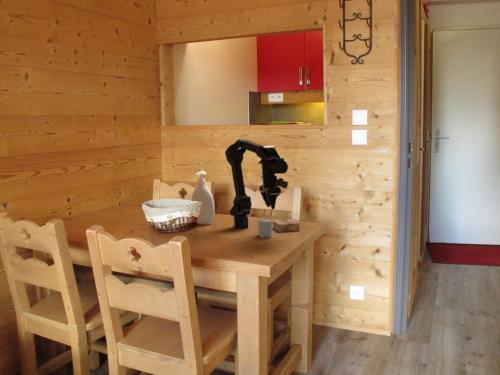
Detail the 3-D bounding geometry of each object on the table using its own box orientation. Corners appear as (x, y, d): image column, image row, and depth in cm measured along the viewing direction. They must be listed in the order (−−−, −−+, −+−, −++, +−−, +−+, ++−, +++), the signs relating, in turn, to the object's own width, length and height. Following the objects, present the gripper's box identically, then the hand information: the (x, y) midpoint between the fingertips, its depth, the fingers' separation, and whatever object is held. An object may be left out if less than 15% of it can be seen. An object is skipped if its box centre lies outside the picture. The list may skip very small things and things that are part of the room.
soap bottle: (186, 223, 255) (184, 171, 251) (196, 220, 261) (194, 169, 258) (208, 226, 247) (206, 172, 243) (218, 223, 253) (217, 170, 250)
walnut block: (279, 233, 232) (278, 224, 231) (273, 228, 241) (272, 220, 241) (299, 231, 234) (299, 223, 234) (292, 227, 244) (292, 219, 243)
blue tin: (260, 237, 222) (260, 222, 221) (258, 235, 227) (257, 220, 226) (271, 236, 223) (271, 221, 222) (268, 234, 228) (268, 219, 227)
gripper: (291, 173, 215) (293, 208, 216) (281, 171, 233) (283, 204, 235) (266, 175, 213) (268, 211, 214) (257, 173, 231) (260, 206, 233)
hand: (270, 208), depth 224 cm, fingers open, 9 cm apart
